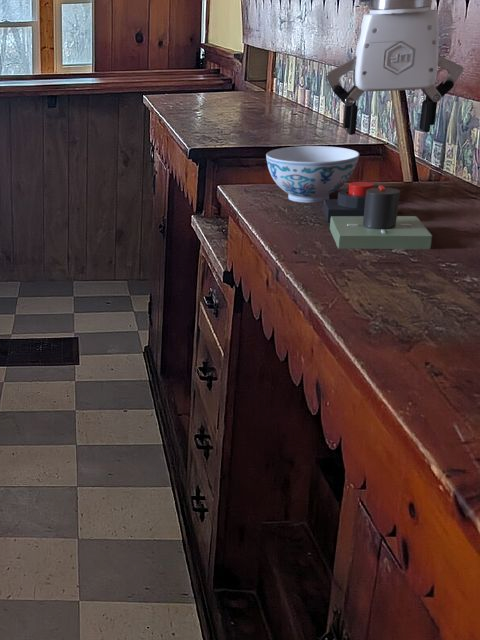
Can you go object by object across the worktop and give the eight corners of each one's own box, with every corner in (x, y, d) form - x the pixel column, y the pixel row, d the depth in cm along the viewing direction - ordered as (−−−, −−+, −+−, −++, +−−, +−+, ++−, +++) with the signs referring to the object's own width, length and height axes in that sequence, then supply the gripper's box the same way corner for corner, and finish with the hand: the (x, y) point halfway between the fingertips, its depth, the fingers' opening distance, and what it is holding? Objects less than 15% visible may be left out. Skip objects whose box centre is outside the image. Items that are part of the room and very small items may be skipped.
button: (371, 192, 137) (372, 181, 136) (374, 197, 133) (375, 186, 133) (346, 192, 137) (347, 181, 137) (349, 197, 134) (350, 186, 134)
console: (414, 229, 129) (416, 215, 128) (430, 249, 119) (432, 234, 118) (329, 229, 132) (330, 215, 131) (338, 249, 122) (339, 234, 121)
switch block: (388, 212, 139) (391, 187, 137) (396, 223, 133) (399, 197, 131) (322, 212, 141) (324, 188, 140) (327, 223, 135) (329, 197, 133)
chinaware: (312, 213, 141) (316, 165, 138) (245, 198, 153) (247, 154, 150) (373, 198, 148) (379, 152, 145) (304, 185, 160) (308, 143, 157)
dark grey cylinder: (398, 229, 122) (402, 191, 120) (365, 229, 123) (369, 192, 121) (392, 221, 126) (397, 185, 124) (360, 221, 127) (364, 185, 125)
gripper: (335, 6, 113) (325, 138, 120) (480, -4, 109) (461, 134, 116) (328, 4, 120) (319, 130, 127) (464, -5, 116) (447, 125, 123)
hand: (387, 132), depth 121 cm, fingers open, 9 cm apart
